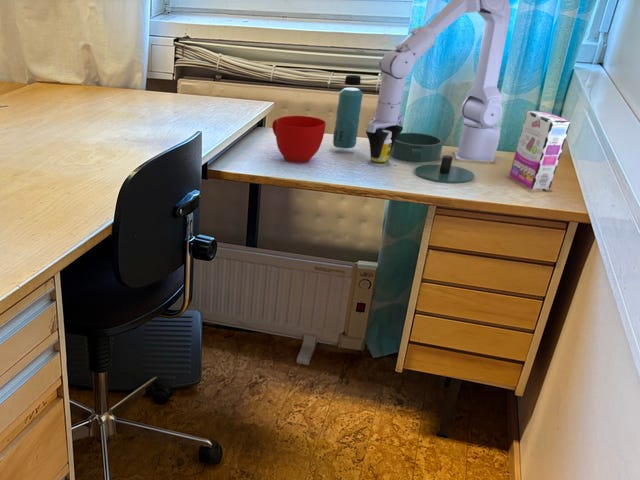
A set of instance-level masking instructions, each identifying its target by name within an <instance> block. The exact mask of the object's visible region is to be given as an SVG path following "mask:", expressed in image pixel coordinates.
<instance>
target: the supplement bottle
mask: <svg viewBox="0 0 640 480" xmlns="http://www.w3.org/2000/svg"><path fill="white" fill-rule="evenodd" d="M382 131H383V132H386V133H389V134H388V136H387V137H386V139H385V141H384V144H383V147H382V150H381V154H380V157H379V158H373V157H371V156H370V158H369V162H370V163H372V164H374V165H387V164H388V163H389V160H390V149H391V144H392V140H391V139H390V138H391V137H392V132H391V131H388V130H382Z"/></svg>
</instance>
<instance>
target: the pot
mask: <svg viewBox="0 0 640 480" xmlns="http://www.w3.org/2000/svg"><path fill="white" fill-rule="evenodd" d="M443 146H444V139H442V138H441V137H439V136H436V135H433V134H428V133H423V132H422V133H421V132H401V133H400V134H399V135H398V137H397V139H396V140H395V143H394V145H393V147H392V150H391V152H390V155H389V157H391V158H393V159H395V160H398V161H403V162H409V163H433V162H437V161H439V160H440V159H441V156H442V151H443Z"/></svg>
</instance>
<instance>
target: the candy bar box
mask: <svg viewBox="0 0 640 480" xmlns="http://www.w3.org/2000/svg"><path fill="white" fill-rule="evenodd" d="M571 123H572V121H571V120H569V119H566V118H564V117H561V116H559V115H556V114H553V113H550V112H548V111H545V110H527V111H526V115H525V117H524V122H523V125H522V128H521V131H520V132H521V133H520V136H519V139H518V143H517V146H516V150H515V154H514V156H513V157H514V158H513V160H512V164H511V168H510V172H509V175H508V176H509V177H511V178H512V179H514V180H515V181H517V182H518V183H520V184H522V185H524V186H525V187H527V188H529V189H530V190H542V191H543V192H546V191H550V190H551V187H552V184H553V180H554V177H555V174H556V171H557V168H558V164H559V161H560V159H561V154H562V151H563V149H564V145H565V143H566V140H567V139H566V138H567V135H568V133H569V129H570V126H571Z"/></svg>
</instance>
